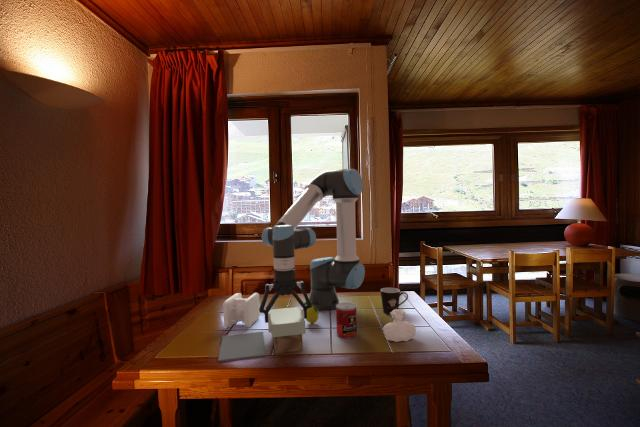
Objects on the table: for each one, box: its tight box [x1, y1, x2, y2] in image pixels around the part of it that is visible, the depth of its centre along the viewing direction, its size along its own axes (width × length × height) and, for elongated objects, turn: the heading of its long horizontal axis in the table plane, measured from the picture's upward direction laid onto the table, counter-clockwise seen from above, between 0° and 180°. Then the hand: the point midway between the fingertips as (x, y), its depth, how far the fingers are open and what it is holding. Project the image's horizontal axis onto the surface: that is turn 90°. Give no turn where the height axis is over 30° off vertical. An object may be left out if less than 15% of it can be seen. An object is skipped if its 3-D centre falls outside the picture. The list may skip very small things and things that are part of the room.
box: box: [272, 334, 304, 354], centre depth 119 cm, size 9×14×9 cm, turn 12°
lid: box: [269, 306, 306, 338], centre depth 119 cm, size 11×16×4 cm
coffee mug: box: [380, 287, 409, 316], centre depth 148 cm, size 12×9×10 cm
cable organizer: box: [222, 292, 261, 328], centre depth 140 cm, size 15×11×12 cm
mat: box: [217, 331, 266, 363], centre depth 118 cm, size 15×20×1 cm
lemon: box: [303, 300, 319, 325], centre depth 137 cm, size 7×6×10 cm
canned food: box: [335, 302, 358, 339], centre depth 125 cm, size 8×8×11 cm
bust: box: [382, 308, 417, 343], centre depth 121 cm, size 12×8×11 cm
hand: (286, 329), depth 119 cm, fingers closed on lid, 11 cm apart
